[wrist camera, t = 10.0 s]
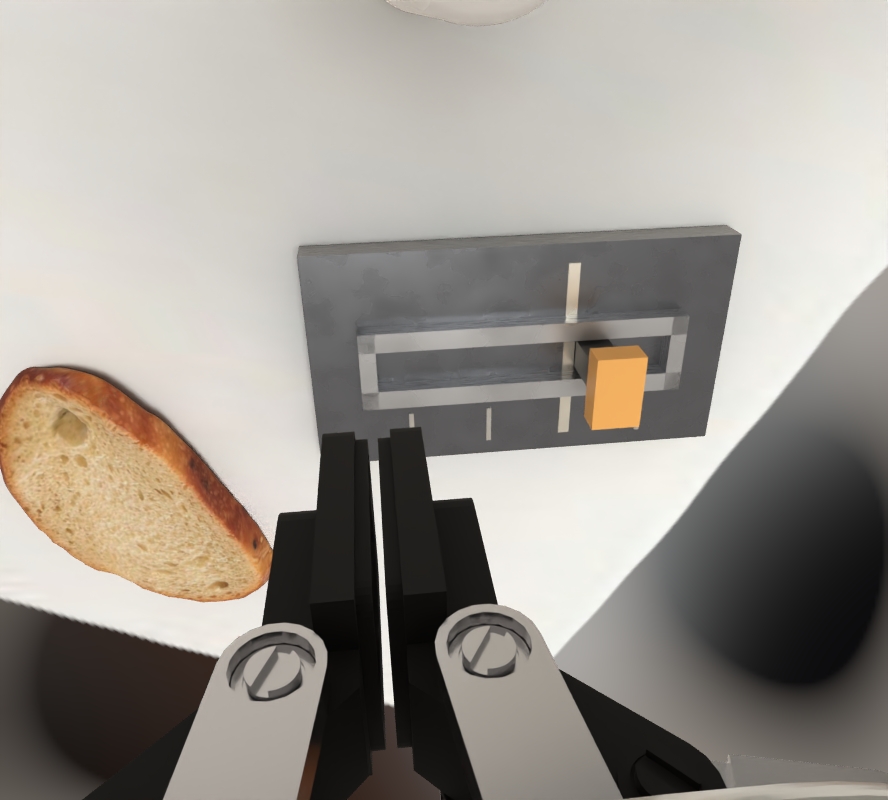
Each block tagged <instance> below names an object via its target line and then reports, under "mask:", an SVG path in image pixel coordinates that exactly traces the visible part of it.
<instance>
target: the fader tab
mask: <svg viewBox="0 0 888 800" xmlns="http://www.w3.org/2000/svg"><path fill="white" fill-rule="evenodd" d="M647 363H648V357H647V355H646V354H645V353H644V352H643V350H642V349H641V348H640V347H639V346H638V345H635V346H620V347H614V346H613V344H612V343H611V342H610V340H609V339H601V340H585V341H576V350H575V363H574V367H575V368H576V370H577V372H578V373H579V375H580V377H581V378H582V380H583V382H584V383H585V385H586V398H585V410H584V417H585V419H586V421H587V423H588V424H589V426H590V428H591V430H600V429H614V428H627V427H639V425H640V417H641V409H642V402H643V394H644V386H645V379H646V371H647Z"/></svg>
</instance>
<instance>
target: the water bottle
mask: <svg viewBox="0 0 888 800" xmlns="http://www.w3.org/2000/svg"><path fill="white" fill-rule="evenodd" d="M385 1H387V2H388V3H389V4H391V5H392V6H394V7H396V8H398V9H400V10H402V11H405V12H409V13H413V14H418V15H423V16H426V17H431V18H436V19H441V20H444V21H447V22H451V23H455V24H461V25H468V26H487V25H495V24H500V23H504V22H508V21H511V20H514V19H517V18H519V17H521V16H524V15H526V14H528V13H530V12H531V11H533V10H535V9H536V8H538V7H540V6H541V5H542V4H544V3H545V2H546V1H548V0H385Z"/></svg>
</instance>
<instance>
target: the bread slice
mask: <svg viewBox="0 0 888 800" xmlns="http://www.w3.org/2000/svg"><path fill="white" fill-rule="evenodd" d="M0 469H1V472H2V475H3V479H4V482H5V484H6V486H7V488H8V490H9V491H10V493H11V494H12V496H13V497H14V498H15V499H16V501H17V502H18V503H19V505H20V506H21V507H22V509H23V510H24V511H25V513H26V514H27V515H28V516H29V518H30V519H31V520H32V521H33V522H34V524H35V525H36V526H37V527H38V529H40V530H41V531H43V532H44V533H45V534H46V535H47V536H48V537H49V538H50V539H51V540H52V542H53V543H55V544H57V545H59V546H60V547H62V548H64V549H65V550H66V551H67V552H68V553H69V554H71V555H72V556H73V557H75V558H76V559H78V560H80V561H82V562H83V563H85V565H88V566H90V567H92V568H94V569H96V570H98V571H104V572H109V573H113V574H116V575H119V576H121V577H122V578H125V579H127V580H129V581H132V582H134V583H135V584H137V585H139V586H140V587H142V588H143V589H147V590H150V591H153V592H156V593H159V594H162V595H165V596H168V597H176V598H183V599H189V600H195V601H199V602H217V601H227V600H233V599H240V598H244V597H246V596H248V595H249V594H251V593H252V592H254V591H256V590H258V589H259V588H260V587H261V586H263V585H264V584H265V583H266V582H267V581H268V580H269V575H270V568H271V561H272V554H273V550H272V549H271V547H270V545H269V543H268V541H267V539H266V538H265V536H264V535H263V534H262V532H261V530H260V528H259V526H258V524H257V523H256V522H255V521H254V520H253V519H252V518H251V517H250V516H249V515H248V513H247V512H246V510H245V509H244V507H243V506H242V505H241V504H240V503H239V502H237V501H236V500H235V499H234V498H233V496H232V495H231V494H230V492H229V491H228V490H227V488H226V487H224V486H223V485H222V484H221V483H220V481H219V480H218V479H217V477H216V476H215V475H214V474H213V473H212V471H211V470H210V469H209V468H208V467H207V466H206V464H205V463H204V462H203V461H202V460H201V459H200V458H199V457H198V456H197V455H196V453H195V452H194V451H193V450H192V449H191V448H190V447H189V446H188V445H187V444H186V443H185V442H184V441H183V440H182V439H181V438H180V437H179V436H177V434H176V433H175V432H174V431H173V430H172V429H171V428H170V427H169V426H168V425H167V424H166V423H165V422H163V421H162V420H161V419H160V418H158V417H157V416H155V415H154V414H152V413H149V412H148V411H146V410H145V409H143V408H142V407H141V406H139V405H138V404H137V403H136V402H134V401H133V400H132V399H130V398H129V397H128V396H126V395H125V394H124V393H122V392H121V391H120V390H118V389H117V388H116V387H114V386H113V385H111V384H110V383H108V382H106V381H104V380H103V379H101V378H99V377H97V376H94V375H91V374H88V373H85V372H81V371H77V370H73V369H68V368H61V367H55V368H37V367H30V368H27V369H25V370H23V371H22V372H20V373H19V374H18V375H17V376H16V377H15V379H14V380H13V382H12V383H11V385H10V386H9V387H8V389H7V390H6V391H5V393H4V395H3V396H2V398H1V400H0Z"/></svg>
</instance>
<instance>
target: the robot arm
mask: <svg viewBox="0 0 888 800" xmlns="http://www.w3.org/2000/svg"><path fill="white" fill-rule="evenodd" d="M378 454H379V473H380V492H381V511H382V530H383V549H384V568H385V586H386V602H387V616H388V629H389V642H390V655H391V668H392V681H393V694H394V707H395V720H396V733H397V745H398V748H405V747H412V749H413V764H414V770H415V771H416V772H417V773H418V774H420V775H421V776H422V777H424V778H425V779H426V780H428V781H429V782H430V783H431V784H433V785H434V786H435V787H437V788H438V789H439V790H440V796H441V800H888V773H886V772H882V771H879V770H872V769H862V768H854V767H845V766H844V767H843V766H835V765H826V764H817V763H807V762H798V761H788V760H779V759H770V758H760V757H751V756H741V755H733V754H729V755H728V759H727V763H726V762H717V761H710V760H709V759H708V758H707V757H706V756H705V755H704V754H703V753H701V752H700V751H699V750H697V749H696V748H695V747H693V746H692V745H690V744H689V743H687V742H685V741H684V740H682V739H680V738H679V737H677V736H675V735H673V734H671V733H670V732H668V731H666V730H664V729H663V728H661V727H659V726H658V725H656V724H654V723H652V722H651V721H649V720H647V719H645V718H644V717H642V716H640V715H638V714H636V713H635V712H633V711H631V710H630V709H628V708H626V707H624V706H623V705H621V704H619V703H617V702H616V701H614V700H612V699H610V698H609V697H607V696H605V695H604V694H602V693H600V692H598V691H596V690H595V689H593V688H591V687H590V686H588V685H586V684H584V683H582V682H581V681H579V680H577V679H576V678H574V677H572V676H570V675H569V674H567V673H565V672H563V671H562V670H560V669H558V667H557V665H556V663H555V661H554V659H553V657H552V655H551V653H550V651H549V649H548V647H547V645H546V643H545V641H544V639H543V637H542V635H541V633H540V631H539V630H538V629H537V627H536V626H535V624H534V623H533V622H532V621H531V620H530V619H529V618H527V617H526V616H525V615H523V614H522V613H521V612H519V611H516V610H514V609H511V608H509V607H506V606H501V605H498V603H497V599H496V595H495V591H494V587H493V582H492V578H491V574H490V570H489V565H488V561H487V557H486V553H485V549H484V544H483V540H482V536H481V532H480V527H479V523H478V519H477V515H476V511H475V506H474V503H473V500H472V498H463V499H450V500H438V501H433V500H432V494H431V488H430V481H429V475H428V468H427V462H426V455H425V449H424V443H423V436H422V430H421V427H409V428H395V429H390V437H386V438H378ZM385 749H386V739H385V715H384V691H383V667H382V643H381V620H380V596H379V574H378V559H377V547H376V535H375V522H374V510H373V498H372V485H371V473H370V461H369V449H368V439H359V440H356V438H355V432H354V431H353V432H339V433H325V434H322V444H321V457H320V471H319V484H318V498H317V510H313V511H300V512H288V513H280V514H279V516H278V521H277V527H276V534H275V541H274V548H273V554H272V561H271V568H270V575H269V581H268V588H267V595H266V602H265V609H264V615H263V622H262V626H261V627H258V628H255V629H252V630H250V631H248V632H247V633H245V634H243V635H242V636H240V637H238V638H237V639H235V640H234V641H233V642H232V643H231V644H230V645H229V646H228V647H227V648H226V649H225V650H224V652H223V653H222V655H221V657H220V658H219V660H218V662H217V664H216V666H215V669H214V672H213V674H212V676H211V679H210V681H209V684H208V686H207V689H206V692H205V694H204V697H203V699H202V702H201V704H200V707H199V708H198V709H197V710H196V711H194V712H193V713H192V714H191V715H190V716H188V717H187V718H186V719H184V720H183V721H182V722H181V723H179V724H178V725H177V726H175V727H174V728H173V729H172V730H170V731H169V732H168V733H167V734H165V735H164V736H163V737H162V738H160V739H159V740H158V741H156V742H155V743H154V744H153V745H152V746H150V747H149V748H148V749H146V750H145V751H144V752H142V753H141V754H140V755H139V756H137V757H136V758H135V759H134V760H132V761H131V762H130V763H128V764H127V765H126V766H125V767H123V768H122V769H121V770H120V771H119V772H117V773H116V774H114V775H113V776H112V777H111V778H110V779H108V780H107V781H106V782H104V783H103V784H102V785H101V786H99V787H98V788H97V789H95V790H94V791H93V792H92V793H90V794H89V795H88V796H87V797H85V798H84V799H83V800H347V799H348V798H349V797H350V795H351V794H352V793H353V792H354V791H355V790H356V789H357V788H358V787H359V786H360V785H361V784H362V783H363V782H364V781H365V780H366V779H367V777H368V776H369V775H372V751H378V750H385Z"/></svg>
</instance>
